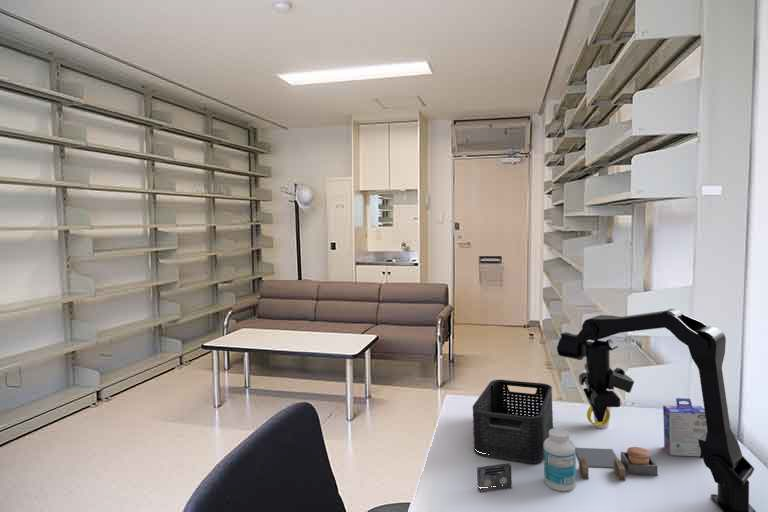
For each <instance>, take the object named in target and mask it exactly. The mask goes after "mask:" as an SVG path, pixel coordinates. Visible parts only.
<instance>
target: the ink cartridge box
mask: <svg viewBox="0 0 768 512" xmlns="http://www.w3.org/2000/svg"><path fill="white" fill-rule="evenodd" d="M675 400H676V405H663V406H662V412H663V414H662V415H663V439H664V440H663V447H664V448H663V449H665V451H666V452H667V455H669V456H680V457H681V456H685V457H700V455H701V449H700V446H699V442H698V440H699V439H700V438H701V437H702V436H703V435H704V434H705V433H706V432H707V424H706V417H705V410H704V407H702V406H701V405H692V400H691V398H682V397H681V398H680V397H679V398H677V397H676V398H675ZM680 402H686V403H687V404H686V403H680Z"/></svg>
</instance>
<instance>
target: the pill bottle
mask: <svg viewBox="0 0 768 512" xmlns="http://www.w3.org/2000/svg"><path fill="white" fill-rule="evenodd" d="M543 447H544V460H543V467H544V468H543V469H544V471H543V472H544V475H543V476H544V482H545V484H546V486H547V487H549V488H550V489H552V490H554V491H558V492H569V491H572V490H574V489H575V488H576V486H577V468H576V467H577V466H576V465H577V464H576V463H577V461H576V458H577V457H576V451H575V448H576V445H575V443H574V442H573V441H572V440H571V439H570V433H569V431H568V430H566V429H563V428H561V427H557V428H554V427H553V429H551V430H549V438H547V439H546V440H545V441H544V444H543Z"/></svg>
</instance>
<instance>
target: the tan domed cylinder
mask: <svg viewBox="0 0 768 512" xmlns="http://www.w3.org/2000/svg"><path fill="white" fill-rule="evenodd" d="M626 452H627V453H628V461H629V463H630V464H644V465H649V457H650V456H651V453H650V451H649V450H648V449H646V448H643V447H639V446H631V447H628V448H627V450H626Z"/></svg>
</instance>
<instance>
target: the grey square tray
mask: <svg viewBox="0 0 768 512" xmlns="http://www.w3.org/2000/svg"><path fill="white" fill-rule="evenodd" d="M620 461H621V463H622V465H623V467H624V468H625V472H626V473H627V474H628V475H634V476H652V477H653V476H655V477H657V476H658V475H659V474H658V473H659V472H658V471H659V469H658V467H659V466H658V465H657V463H656V462H655V460H654V459H653V458H652V456H651V455H650V457H649V465H644V464H630V463H629V461H628V453H627V451H621V452H620Z"/></svg>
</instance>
